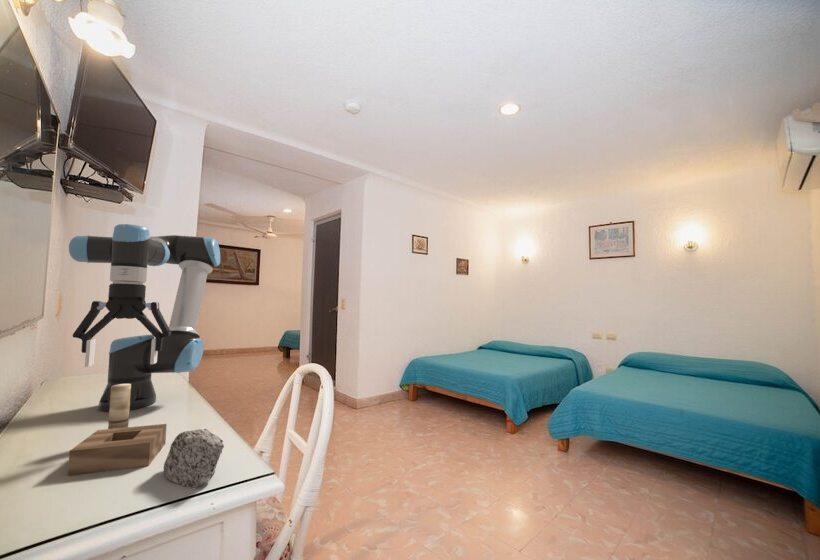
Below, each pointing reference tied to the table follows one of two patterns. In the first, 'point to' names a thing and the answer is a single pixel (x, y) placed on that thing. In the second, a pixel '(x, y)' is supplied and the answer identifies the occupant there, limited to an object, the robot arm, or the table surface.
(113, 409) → the peg
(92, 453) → the board
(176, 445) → the rock
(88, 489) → the table surface
